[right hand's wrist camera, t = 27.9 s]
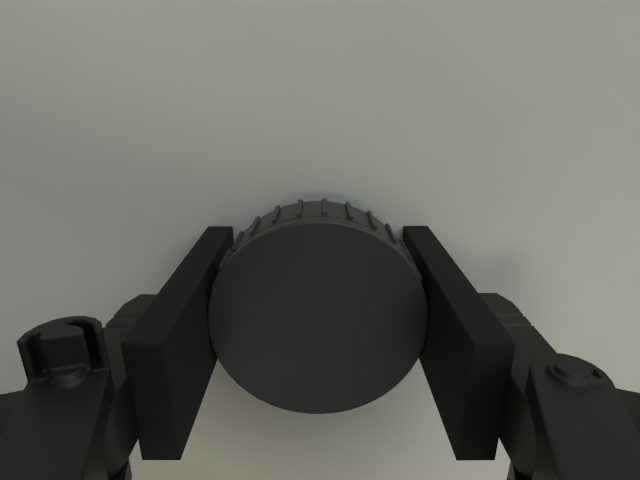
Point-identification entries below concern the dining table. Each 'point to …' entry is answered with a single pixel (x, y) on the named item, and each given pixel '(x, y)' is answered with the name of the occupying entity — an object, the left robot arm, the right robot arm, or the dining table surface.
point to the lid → (318, 308)
